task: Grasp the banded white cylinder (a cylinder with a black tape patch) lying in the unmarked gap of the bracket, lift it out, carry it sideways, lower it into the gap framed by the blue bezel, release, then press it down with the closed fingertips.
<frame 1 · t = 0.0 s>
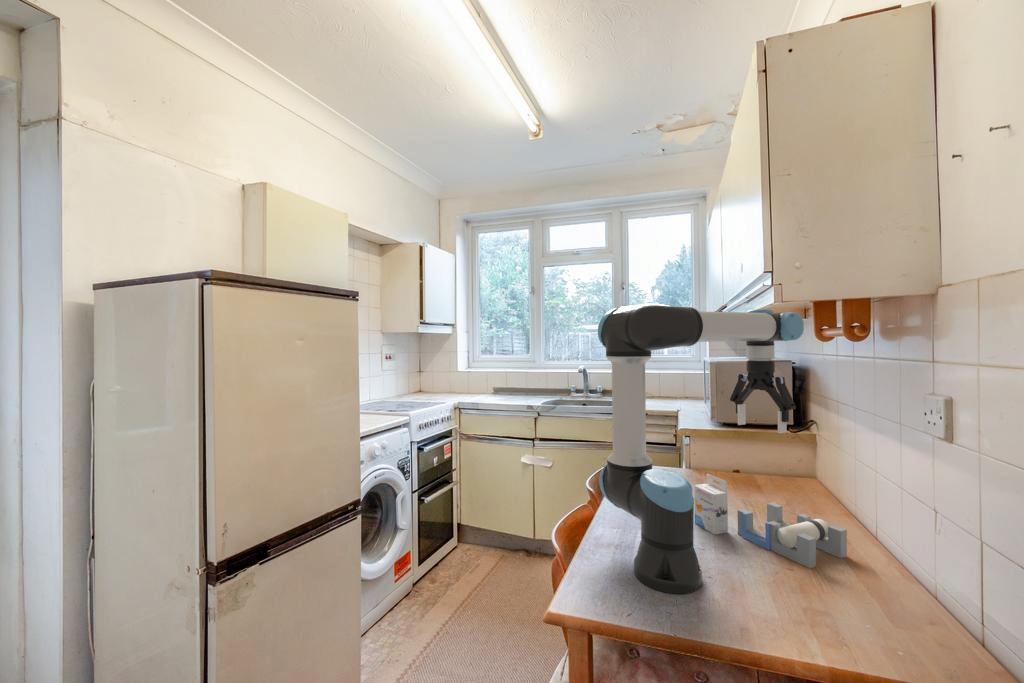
hand: (761, 428, 131), 28 cm above the table, fingers open, 13 cm apart
ink box: (710, 528, 125), on the table
banded white cylinder: (804, 542, 111), point 2 cm above the table, touching bracket
bracket: (789, 544, 115), on the table
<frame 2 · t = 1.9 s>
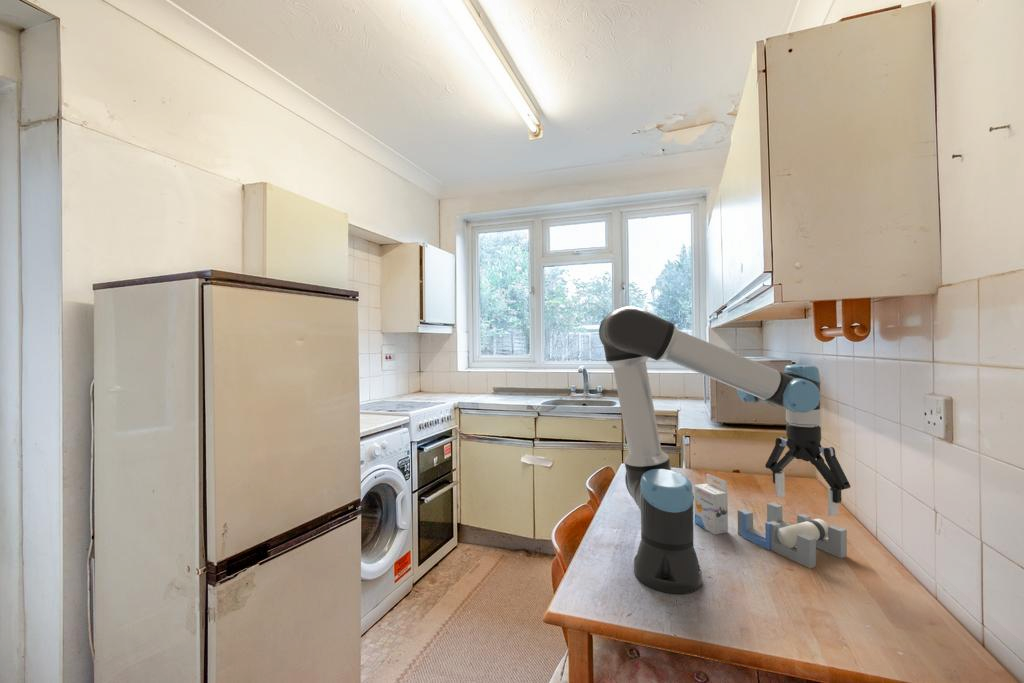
hand: (805, 505, 111), 12 cm above the table, fingers open, 13 cm apart
nothing on the table moved.
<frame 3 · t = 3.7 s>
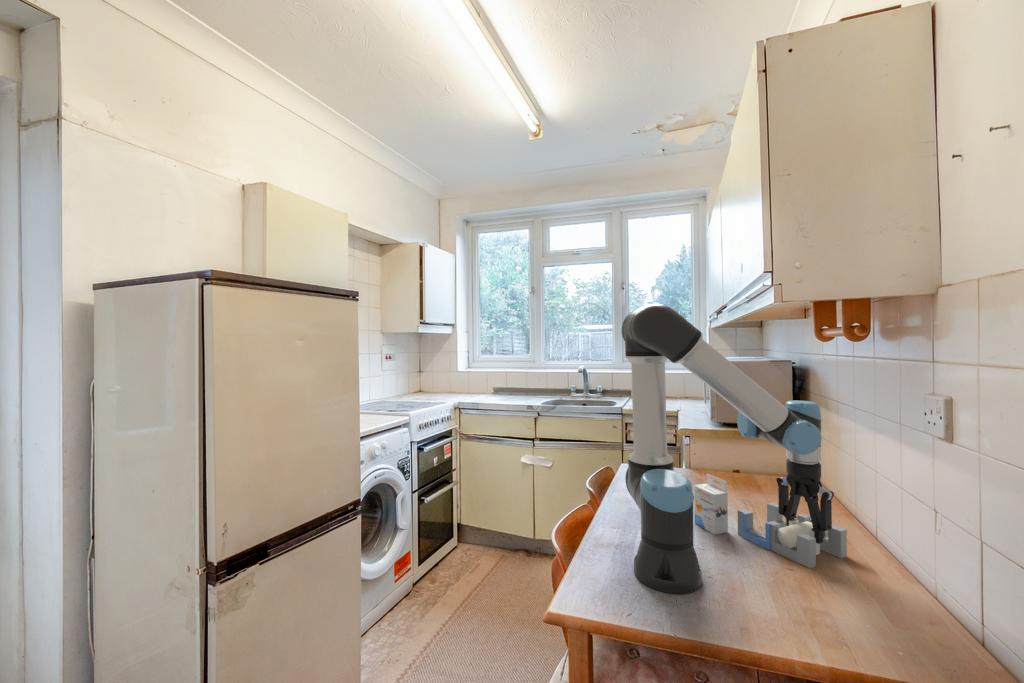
hand: (804, 549, 111), 1 cm above the table, fingers closed on banded white cylinder, 5 cm apart
banded white cylinder: (804, 542, 111), point 2 cm above the table, touching bracket, gripper
everything else where it was.
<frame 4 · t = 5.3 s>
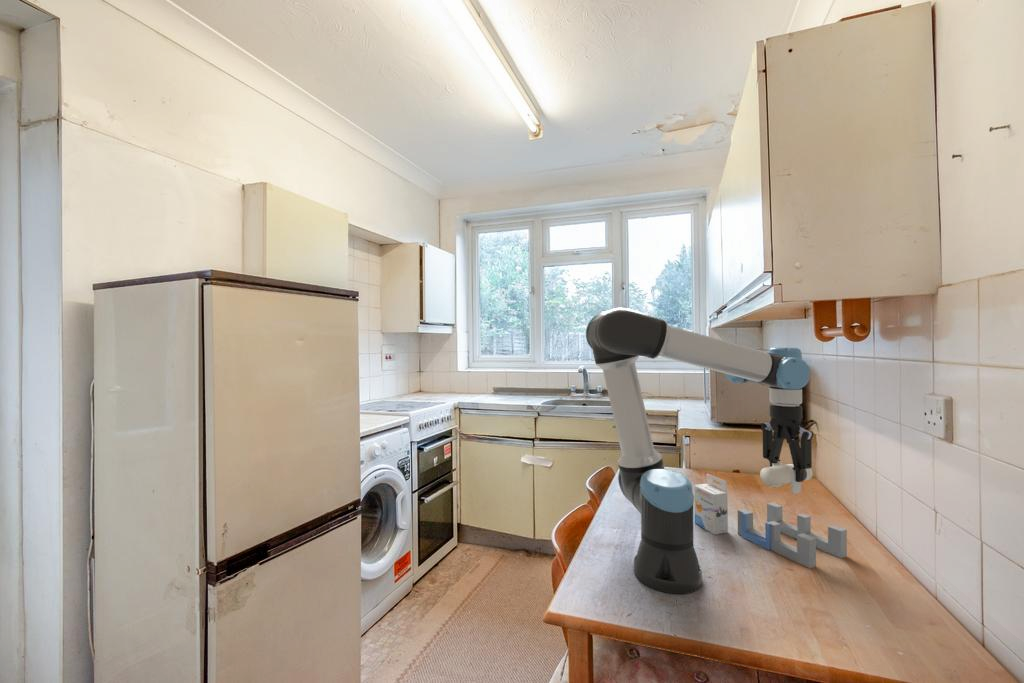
hand: (786, 489, 115), 15 cm above the table, fingers closed on banded white cylinder, 5 cm apart
banded white cylinder: (786, 482, 115), point 17 cm above the table, touching gripper
everything else where it was.
when the fingers open (2 cm above the table, at t = 7.3 s): banded white cylinder drops 1 cm, resting on bracket.
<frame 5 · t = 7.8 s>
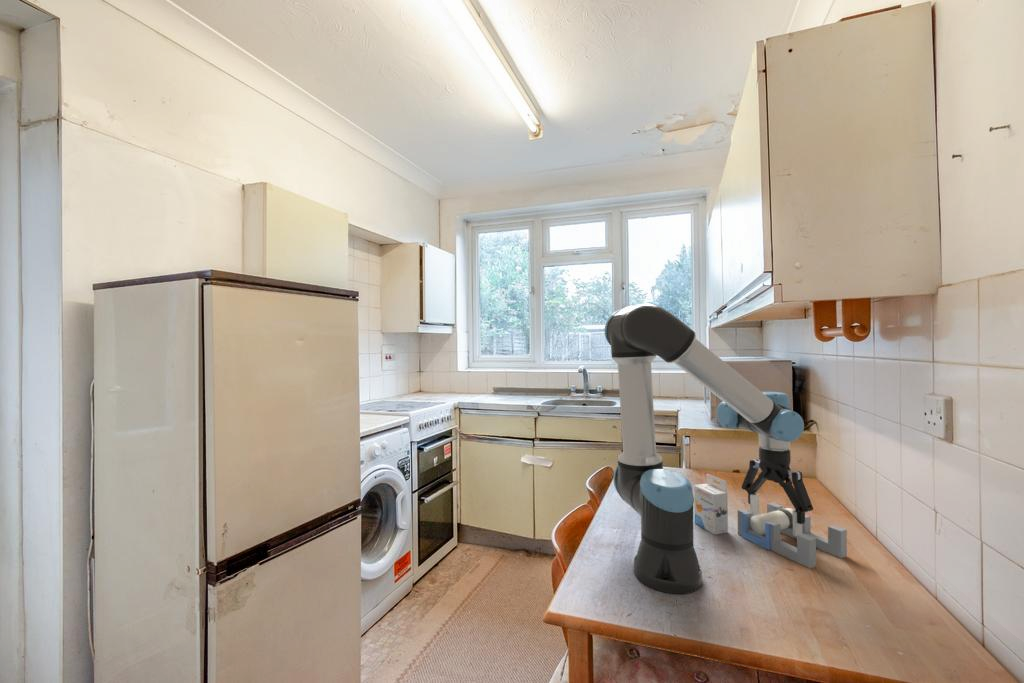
hand: (775, 525, 118), 4 cm above the table, fingers open, 12 cm apart
banded white cylinder: (775, 529, 118), point 2 cm above the table, touching bracket
everything else where it was.
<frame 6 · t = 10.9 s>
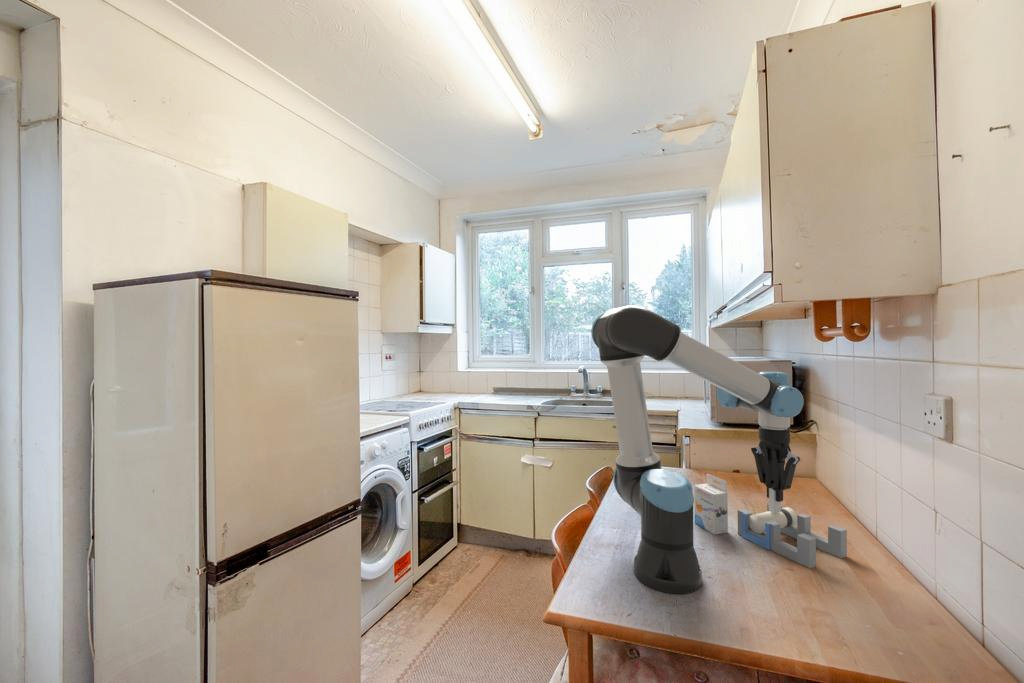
hand: (775, 511, 118), 7 cm above the table, fingers closed
banded white cylinder: (775, 529, 118), point 2 cm above the table, tilted 14°, touching bracket, gripper
everything else where it was.
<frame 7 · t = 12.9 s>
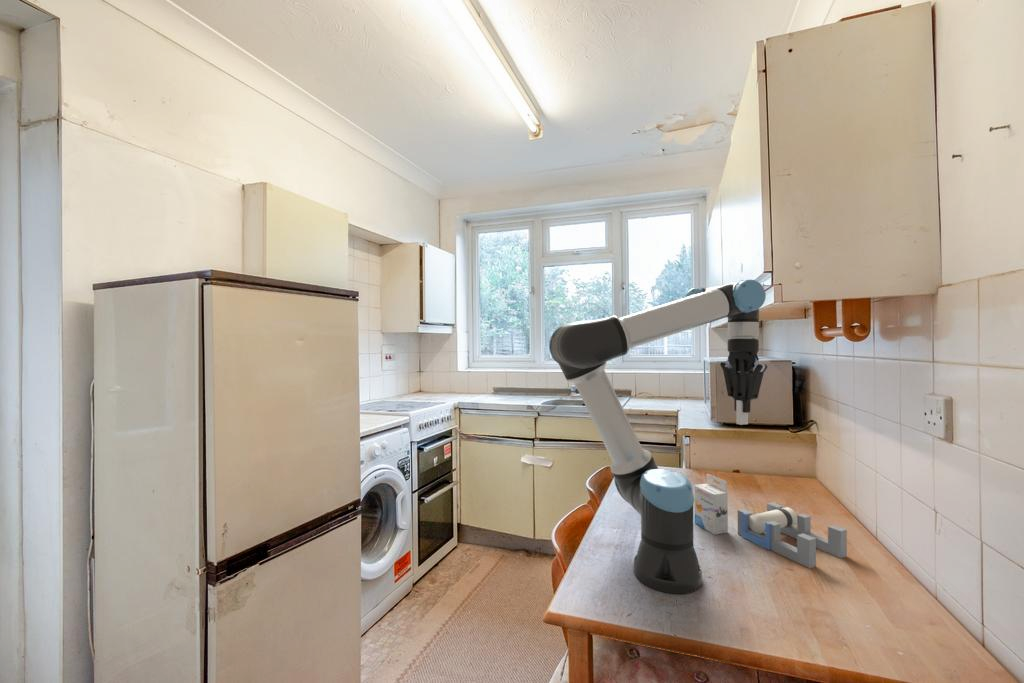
hand: (742, 423, 116), 32 cm above the table, fingers closed
banded white cylinder: (775, 529, 118), point 2 cm above the table, tilted 14°, touching bracket
everything else where it was.
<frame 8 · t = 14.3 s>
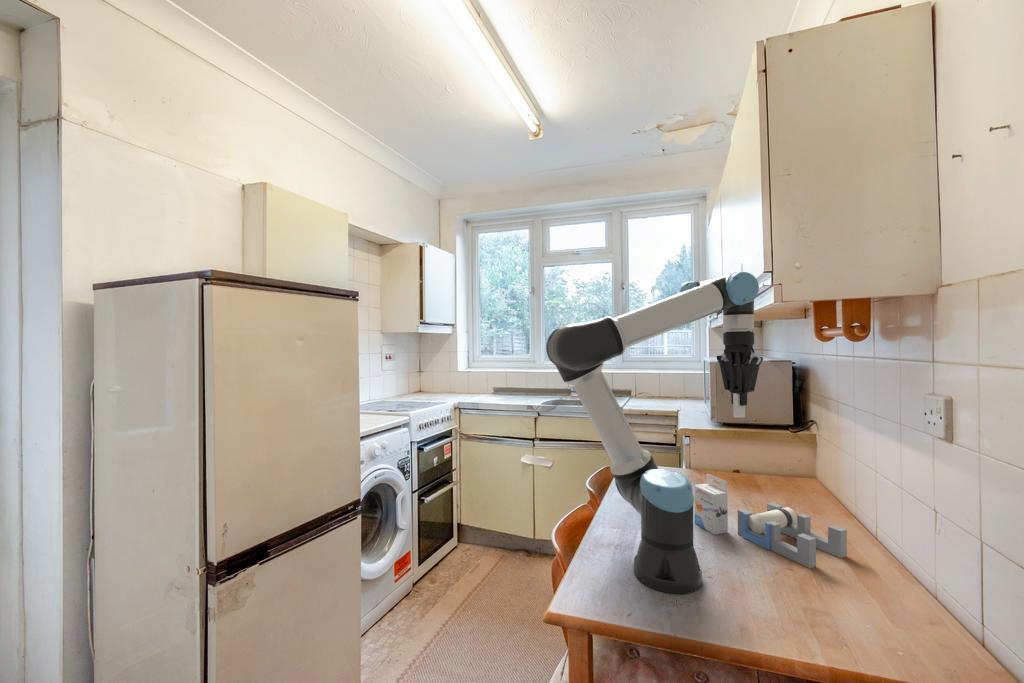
hand: (739, 416, 116), 34 cm above the table, fingers closed
nothing on the table moved.
at the end: banded white cylinder 0.0 cm from the target spot on the bracket, point 2.5 cm above the bracket's base; the gripper is holding nothing; banded white cylinder touching bracket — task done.
